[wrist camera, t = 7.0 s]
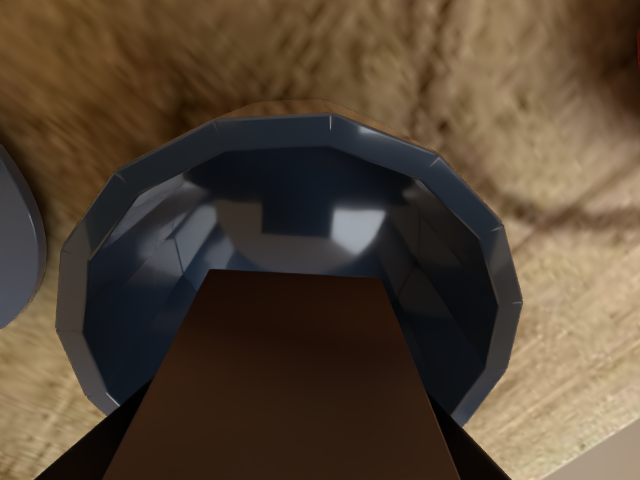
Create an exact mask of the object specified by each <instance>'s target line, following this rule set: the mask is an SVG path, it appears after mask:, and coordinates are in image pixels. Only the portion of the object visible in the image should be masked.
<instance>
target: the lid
mask: <svg viewBox="0 0 640 480" xmlns="http://www.w3.org/2000/svg"><path fill="white" fill-rule="evenodd" d="M46 260H47V248H46V236H45V231H44V225H43V221H42V218H41V214H40V211H39V208H38V205H37V202H36V200H35V198H34V196H33V194H32V192H31V190H30V187H29V185H28V183H27V181H26V180H25V178H24V176H23V175H22V173H21V171H20V170H19V168H18V167H17V165H16V163H15V162H14V160H13V159H12V158H11V156H10V155H9V154H8V152H7V151H6V150H5V148H4V147H3V146H2V145H1V143H0V329H2V328H4V327H5V326H6V325H8V324H9V323H10V322H11V321H13V320H14V319H15V318H16V317H17V316H19V315H20V314H21V313H22V312H23V311H24V310H25V309H26V308H27V307H28V306H29V304H30V303H31V302H32V301H33V299H34V297H35V295H36V294H37V292H38V290H39V288H40V285H41V282H42V279H43V276H44V273H45V267H46Z"/></svg>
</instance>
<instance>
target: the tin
mask: <svg viewBox="0 0 640 480" xmlns="http://www.w3.org/2000/svg"><path fill="white" fill-rule="evenodd" d="M209 269H227V270H245V271H264V272H283V273H302V274H321V275H339V276H358V277H377V278H381V280H382V282H383V285H384V288H385V290H386V293H387V295H388V298H389V300H390V303H391V305H392V308H393V310H394V313H395V315H396V318H397V320H398V323H399V325H400V328H401V330H402V333H403V336H404V338H405V341H406V343H407V346H408V348H409V351H410V353H411V356H412V358H413V361H414V363H415V366H416V368H417V371H418V373H419V376H420V378H421V381H422V384H423V386H424V388H425V390H426V391H427V392H428V393H429V394H430V395H431V396H432V397H433V398H434V399H435V400H436V401H437V402H438V403H439V404H440V405H441V406H442V407H443V408H444V409H445V410H446V411H447V413H448V414H449V415H450V416H451V417H452V418H453V419H454V420H455V421H456V422H457V423H458V424H459V425H460V426H461V427H463V426H464V424H466V423H467V422H468V421H469V419H470V418H471V417H472V416H473V414H474V413H475V412H476V410H477V409H478V408H479V406H480V405H481V404H482V402H483V401H484V400H485V398H486V397H487V396H488V394H489V393H490V392H491V390H492V389H493V388H494V386H495V385H496V384H497V382H498V381H499V380H500V378H501V377H502V376H503V374H504V373H505V372H506V369H507V368H508V364H509V360H510V355H511V351H512V347H513V343H514V338H515V334H516V330H517V326H518V322H519V317H520V313H521V309H522V305H523V300H522V294H521V290H520V286H519V282H518V278H517V275H516V271H515V267H514V263H513V259H512V255H511V251H510V248H509V244H508V240H507V236H506V232H505V228H504V225H503V224H502V221H501V219H500V218H499V217H498V216H497V215H496V214H495V213H494V212H493V211H492V210H491V209H490V208H489V206H488V205H487V204H486V203H485V202H484V201H483V200H482V199H481V198H480V197H479V196H478V195H477V194H476V192H475V191H474V190H473V189H472V188H471V187H470V186H469V185H468V184H467V183H466V182H465V181H464V180H463V178H462V177H461V176H460V175H459V174H458V173H457V172H456V171H455V170H454V169H453V168H452V167H451V166H450V165H449V163H448V162H447V161H446V160H445V159H444V158H443V157H442V156H441V155H440V154H438V153H436V152H435V151H434V150H432V149H430V148H428V147H426V146H424V145H422V144H420V143H418V142H416V141H415V140H413V139H411V138H409V137H407V136H405V135H403V134H401V133H399V132H397V131H395V130H394V129H392V128H390V127H388V126H386V125H384V124H382V123H380V122H378V121H376V120H374V119H371V118H369V117H366V116H363V115H361V114H358V113H356V112H353V111H351V110H349V109H346V108H343V107H340V106H338V105H335V104H333V103H330V102H328V101H325V100H323V99H301V100H280V101H260V102H256V103H252V104H249V105H247V106H244V107H242V108H239V109H236V110H234V111H231V112H229V113H226V114H224V115H221V116H219V117H216V118H213V119H211V120H209V121H207V122H205V123H203V124H201V125H199V126H197V127H195V128H194V129H192V130H190V131H188V132H186V133H184V134H182V135H180V136H178V137H176V138H174V139H172V140H171V141H169V142H167V143H165V144H163V145H161V146H159V147H157V148H155V149H153V150H151V151H149V152H148V153H146V154H144V155H142V156H140V157H138V158H136V159H134V160H132V161H130V162H128V163H126V164H125V165H123V166H121V167H119V168H118V169H117V170H116V171H114V172H113V173H112V174H111V176H110V177H109V179H108V180H107V182H106V183H105V185H104V186H103V187H102V189H101V190H100V192H99V193H98V195H97V196H96V198H95V199H94V201H93V202H92V203H91V205H90V206H89V208H88V209H87V211H86V212H85V214H84V215H83V216H82V218H81V219H80V221H79V222H78V224H77V225H76V227H75V228H74V230H73V231H72V232H71V234H70V235H69V237H68V238H67V240H66V241H65V243H64V244H63V246H62V249H61V253H60V267H59V281H58V295H57V309H56V323H55V328H56V332H57V334H58V336H59V339H60V341H61V343H62V345H63V347H64V350H65V352H66V354H67V356H68V359H69V361H70V363H71V365H72V368H73V370H74V372H75V374H76V377H77V379H78V381H79V383H80V385H81V388H82V390H83V392H84V394H85V396H87V398H88V399H89V400H90V401H91V402H92V403H93V404H94V405H95V406H96V407H97V408H98V409H99V410H100V411H101V412H102V413H103V414H105V415H106V416H108V415H109V414H110V413H112V412H113V411H114V410H115V409H116V408H117V407H119V406H120V405H121V404H122V403H123V402H124V401H125V400H127V399H128V398H129V397H130V396H131V395H132V394H134V393H135V392H136V391H137V390H138V389H139V388H141V387H142V386H143V385H144V384H145V383H146V382H147V381H149V380H150V379H151V378H152V377H153V376H154V375H155V374H156V372H157V370H158V368H159V366H160V365H161V363H162V361H163V359H164V357H165V355H166V353H167V351H168V349H169V347H170V345H171V343H172V341H173V339H174V337H175V335H176V333H177V331H178V329H179V327H180V325H181V323H182V321H183V319H184V317H185V315H186V313H187V311H188V309H189V307H190V305H191V304H192V302H193V300H194V298H195V296H196V294H197V292H198V290H199V288H200V286H201V284H202V282H203V280H204V278H205V276H206V274H207V272H208V270H209Z"/></svg>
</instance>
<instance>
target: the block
mask: <svg viewBox="0 0 640 480" xmlns="http://www.w3.org/2000/svg"><path fill="white" fill-rule="evenodd" d="M102 480H460V477H459V475H458V472H457V469H456V467H455V464H454V462H453V459H452V457H451V454H450V452H449V449H448V447H447V444H446V442H445V439H444V437H443V434H442V432H441V429H440V427H439V424H438V421H437V419H436V416H435V414H434V411H433V409H432V406H431V404H430V401H429V399H428V396H427V394H426V391H425V389H424V386H423V384H422V381H421V378H420V376H419V373H418V371H417V368H416V366H415V363H414V361H413V358H412V356H411V353H410V351H409V348H408V346H407V343H406V341H405V338H404V336H403V333H402V330H401V328H400V325H399V323H398V320H397V318H396V315H395V313H394V310H393V308H392V305H391V303H390V300H389V298H388V295H387V293H386V290H385V288H384V285H383V282H382V280H381V278H377V277H358V276H339V275H321V274H302V273H283V272H264V271H245V270H227V269H209V270H208V272H207V274H206V276H205V278H204V280H203V282H202V284H201V286H200V288H199V290H198V292H197V294H196V296H195V298H194V300H193V302H192V304H191V305H190V307H189V309H188V311H187V313H186V315H185V317H184V319H183V321H182V323H181V325H180V327H179V329H178V331H177V333H176V335H175V337H174V339H173V341H172V343H171V345H170V347H169V349H168V351H167V353H166V355H165V357H164V359H163V361H162V363H161V365H160V366H159V368H158V370H157V372H156V374H155V376H154V378H153V380H152V382H151V384H150V386H149V388H148V390H147V392H146V394H145V396H144V398H143V400H142V402H141V404H140V406H139V408H138V410H137V412H136V414H135V416H134V418H133V420H132V422H131V424H130V425H129V427H128V429H127V431H126V433H125V435H124V437H123V439H122V441H121V443H120V445H119V447H118V449H117V451H116V453H115V455H114V457H113V459H112V461H111V463H110V465H109V467H108V469H107V471H106V473H105V475H104V477H103V479H102Z"/></svg>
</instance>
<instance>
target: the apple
mask: <svg viewBox="0 0 640 480" xmlns="http://www.w3.org/2000/svg"><path fill="white" fill-rule="evenodd" d="M637 48H638V66H639V73H640V28H639V32H638V36H637Z"/></svg>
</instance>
